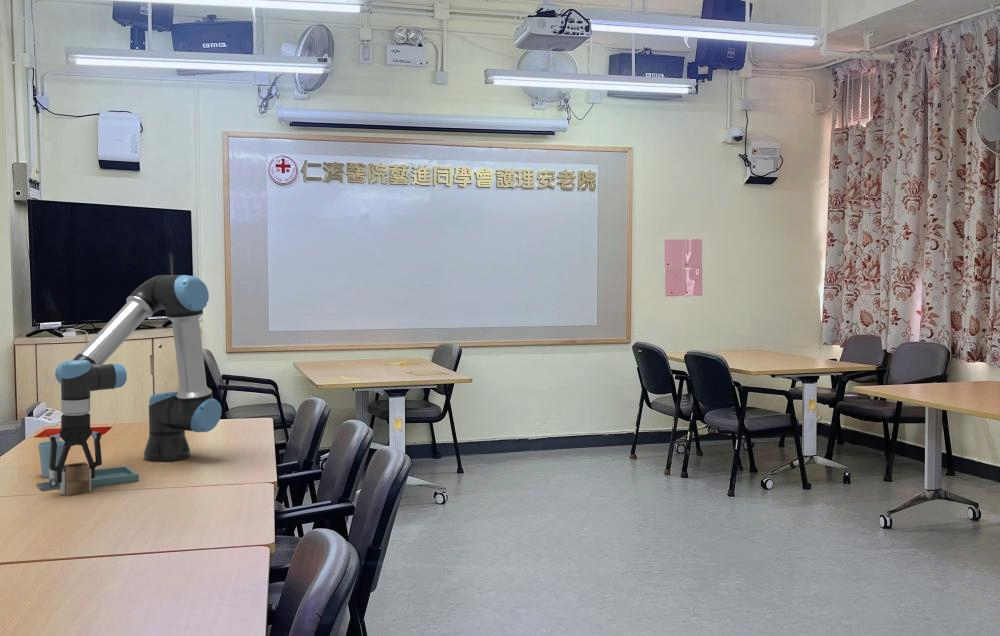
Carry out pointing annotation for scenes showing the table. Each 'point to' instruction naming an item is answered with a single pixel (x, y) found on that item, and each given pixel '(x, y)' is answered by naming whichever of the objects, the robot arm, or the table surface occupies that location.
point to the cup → (48, 455)
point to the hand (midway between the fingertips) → (75, 491)
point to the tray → (114, 476)
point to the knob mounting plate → (52, 482)
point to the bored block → (76, 478)
